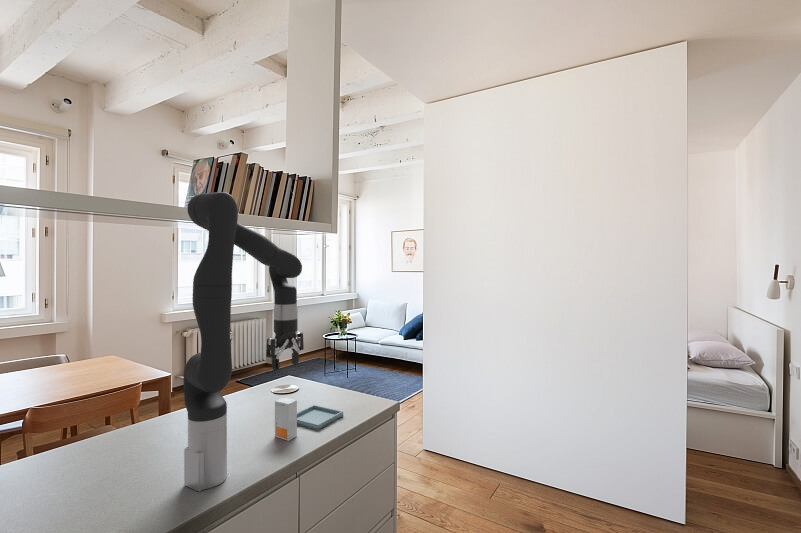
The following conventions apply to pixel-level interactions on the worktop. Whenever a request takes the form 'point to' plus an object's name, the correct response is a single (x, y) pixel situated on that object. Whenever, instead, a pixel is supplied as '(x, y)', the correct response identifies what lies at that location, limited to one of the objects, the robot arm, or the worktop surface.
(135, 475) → the worktop surface
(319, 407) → the tray
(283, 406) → the skincare box
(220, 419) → the robot arm
